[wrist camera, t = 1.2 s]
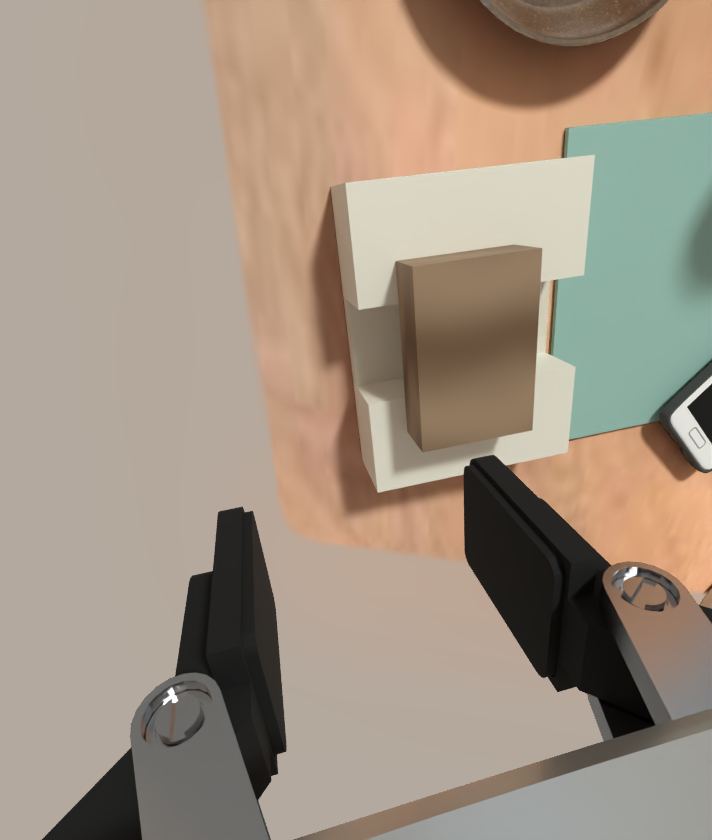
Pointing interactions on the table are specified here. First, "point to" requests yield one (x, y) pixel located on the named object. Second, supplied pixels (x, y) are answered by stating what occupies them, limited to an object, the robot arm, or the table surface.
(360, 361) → the slotted block
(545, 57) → the table surface
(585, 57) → the table surface
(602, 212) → the mat
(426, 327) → the brown flat block
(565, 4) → the saucer
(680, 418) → the cell phone
